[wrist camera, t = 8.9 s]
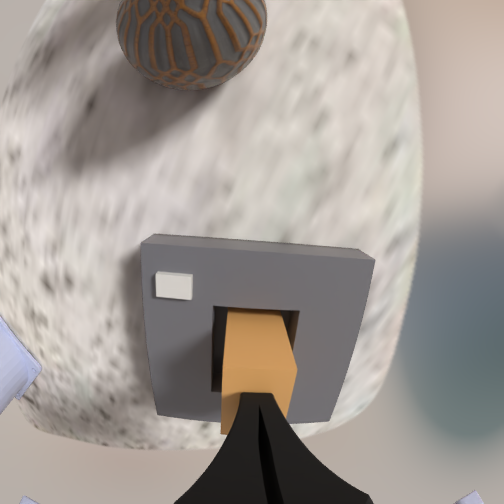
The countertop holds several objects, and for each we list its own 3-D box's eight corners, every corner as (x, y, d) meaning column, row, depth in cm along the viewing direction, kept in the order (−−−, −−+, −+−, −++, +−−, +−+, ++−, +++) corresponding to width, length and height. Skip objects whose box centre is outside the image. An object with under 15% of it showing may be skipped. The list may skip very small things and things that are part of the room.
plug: (270, 367, 17) (281, 435, 12) (225, 365, 17) (220, 434, 11) (279, 307, 16) (297, 369, 11) (228, 304, 16) (222, 366, 10)
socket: (321, 400, 19) (330, 425, 16) (164, 393, 18) (156, 418, 16) (358, 249, 16) (378, 261, 13) (154, 233, 15) (138, 244, 13)
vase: (123, 75, 13) (43, 12, 4) (192, -2, 12) (166, -92, 3) (215, 125, 14) (184, 61, 6) (284, 40, 13) (317, -56, 4)
